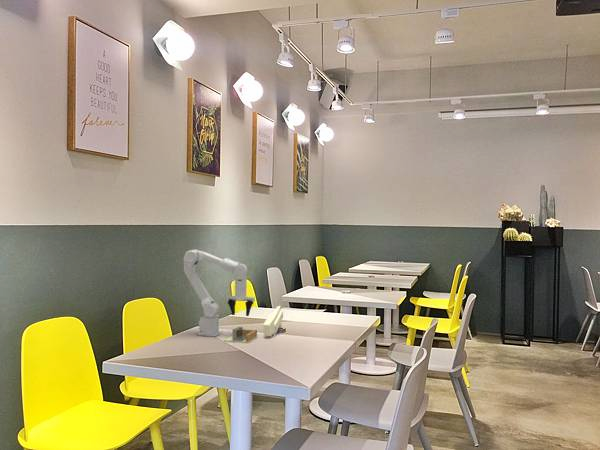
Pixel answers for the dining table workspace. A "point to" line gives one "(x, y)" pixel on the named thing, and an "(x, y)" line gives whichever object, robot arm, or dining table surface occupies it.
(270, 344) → the dining table surface
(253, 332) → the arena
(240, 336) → the angle bracket
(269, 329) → the shelf bracket
